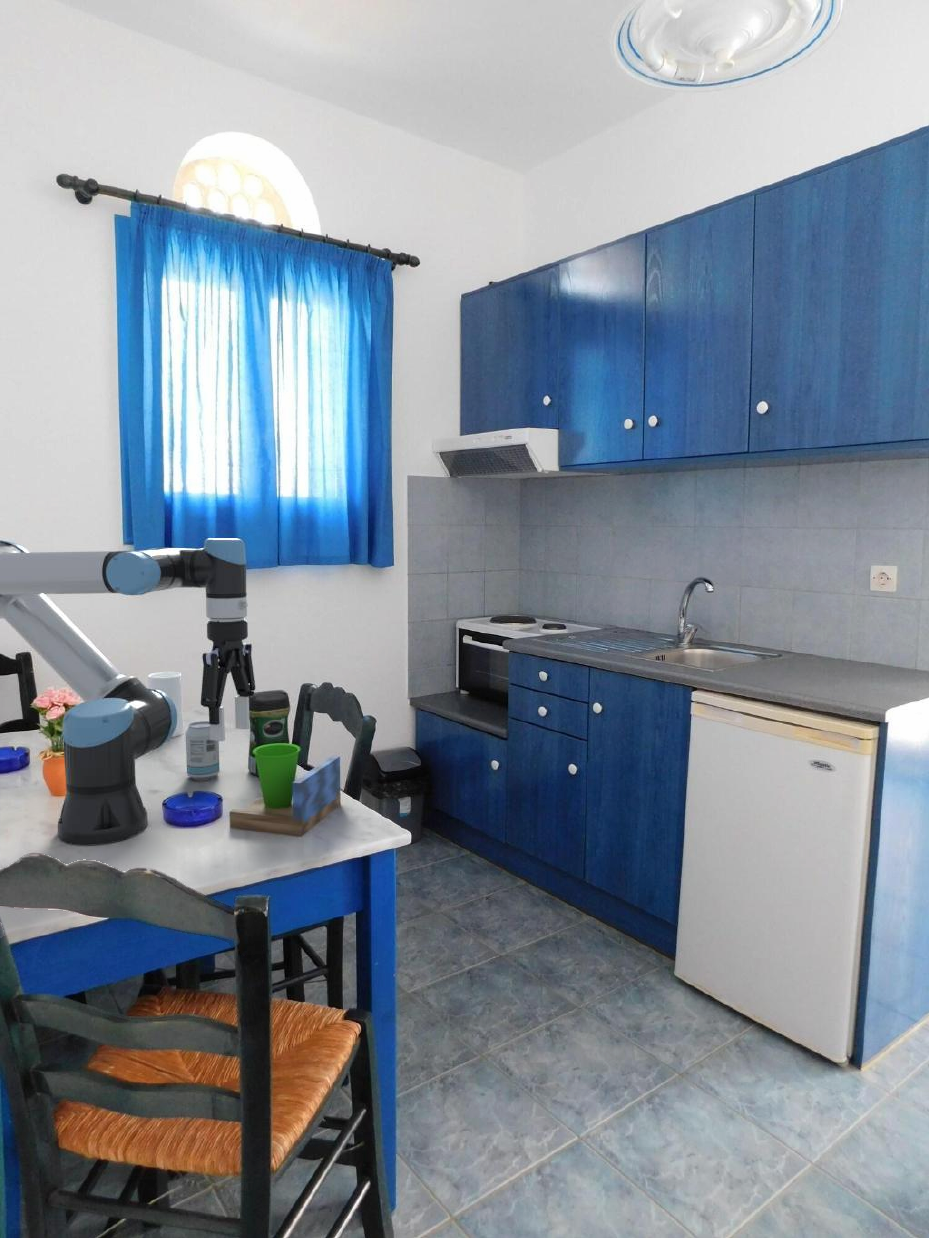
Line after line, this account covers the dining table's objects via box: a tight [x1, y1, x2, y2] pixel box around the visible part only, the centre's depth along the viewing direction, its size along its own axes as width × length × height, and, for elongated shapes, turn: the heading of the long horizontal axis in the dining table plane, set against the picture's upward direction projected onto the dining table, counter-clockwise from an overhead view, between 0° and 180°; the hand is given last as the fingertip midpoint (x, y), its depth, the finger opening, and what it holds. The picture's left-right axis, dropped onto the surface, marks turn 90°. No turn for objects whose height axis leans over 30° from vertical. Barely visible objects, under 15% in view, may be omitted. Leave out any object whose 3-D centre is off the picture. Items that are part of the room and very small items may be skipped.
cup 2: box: [253, 743, 302, 809], centre depth 156 cm, size 9×9×11 cm
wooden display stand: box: [229, 755, 342, 837], centre depth 156 cm, size 17×14×10 cm
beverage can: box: [185, 720, 221, 782], centre depth 178 cm, size 7×7×12 cm
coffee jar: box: [247, 689, 291, 777], centre depth 183 cm, size 10×8×19 cm
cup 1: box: [147, 671, 184, 738], centre depth 214 cm, size 8×8×16 cm
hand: (230, 734), depth 158 cm, fingers open, 8 cm apart
